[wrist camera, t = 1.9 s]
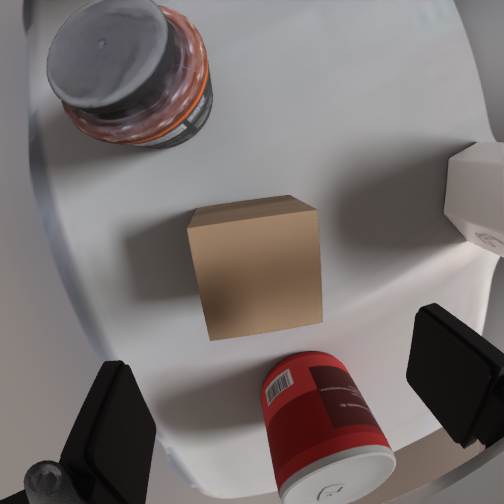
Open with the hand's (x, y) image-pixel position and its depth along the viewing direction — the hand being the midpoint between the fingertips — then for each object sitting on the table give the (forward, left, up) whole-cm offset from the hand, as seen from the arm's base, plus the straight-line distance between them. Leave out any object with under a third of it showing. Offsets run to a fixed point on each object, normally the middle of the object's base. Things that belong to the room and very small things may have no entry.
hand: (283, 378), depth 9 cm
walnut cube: (-1, 0, -12) cm, 12 cm away
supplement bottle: (-11, -4, -13) cm, 17 cm away
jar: (-3, +20, -13) cm, 24 cm away
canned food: (+12, +3, -13) cm, 18 cm away
